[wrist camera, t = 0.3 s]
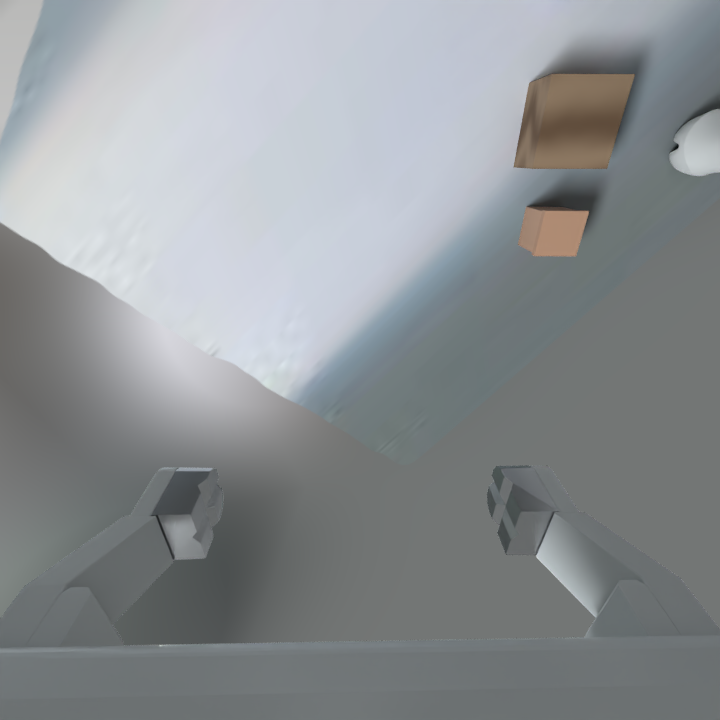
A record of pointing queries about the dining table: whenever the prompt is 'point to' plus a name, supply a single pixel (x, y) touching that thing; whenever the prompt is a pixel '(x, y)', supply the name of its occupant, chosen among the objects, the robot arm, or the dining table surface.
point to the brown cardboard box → (552, 230)
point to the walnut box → (572, 120)
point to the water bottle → (698, 145)
